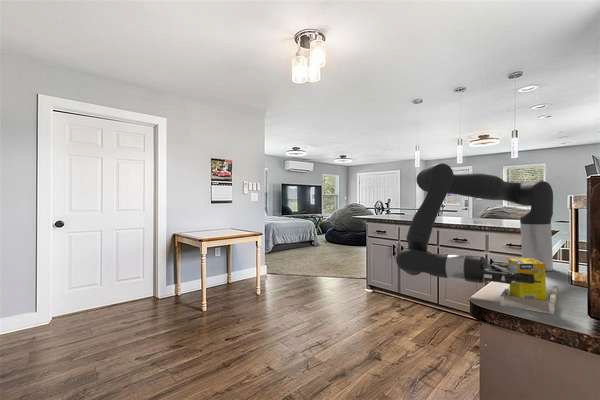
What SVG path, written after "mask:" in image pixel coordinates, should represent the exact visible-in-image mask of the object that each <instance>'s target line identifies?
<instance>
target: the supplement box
mask: <svg viewBox="0 0 600 400" xmlns="http://www.w3.org/2000/svg"><path fill="white" fill-rule="evenodd" d="M507 261H508V263H509V271H511V272H515V273H525V274H533V275H534V283H533V284H530V283H522V282H516V281H515V282H514V283H511V284H509V286H510V296H513V297H520V298H527V299H534V300H540V301H547V282H546V271H545V264H544V263H542V262H540V261H537V260H535V259H533V258H522V257H520V258H514V257H513V258H508V259H507ZM547 302H548V301H547Z"/></svg>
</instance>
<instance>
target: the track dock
mask: <svg viewBox="0 0 600 400" xmlns="http://www.w3.org/2000/svg"><path fill="white" fill-rule="evenodd" d="M558 287H559V286H557V285H554V286H553V288H552V294H550V296H549V297H550V298H549V300H548V301H540V300H534V299H527V298H520V297H513V296H510V285H509V286H508V288H504V289H503V291H502V292H501V294H500V296H499V300H500V302H499V303H500V306H501V307H510V308H515V309H521V310H527V311H532V312H533V311H534V312H537V313H544V314H545V313H546V314H550V315H554V314H555V309H556V303H557V297H558Z"/></svg>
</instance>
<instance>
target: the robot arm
mask: <svg viewBox="0 0 600 400" xmlns="http://www.w3.org/2000/svg"><path fill="white" fill-rule="evenodd" d="M415 181H416V184H417V186H418V188H420V190H422V191H424V192H425V193H427V194H426V196H425V198H424V199H423V201H422V203H421V205H420V206H419V208H418V209H417V211H416V212H415V213H414V215H413V218H412V219H411V223H409V228H408V231H407V234H406V243H407V244H408V247H407V249H403V250H401V251H399V252H398V253H397V254H396V256H395V263H396V265H397V267H398V268H399V269H401V270H402V271H403V272H405V273H406V274H408V275H411V276H418V275H420V274H421V273H424V274H428V275H430V276H433V277H435V278H443V279H445V278H447V279H450V280H455V281H462V282H466V283H468V282H469V283H475V284H485V282H492V283H500V284H501V283H502V284H507V285H510V284H511V283H514V282H515V281H516V282H522V283H530V284H533V283H534V275H533V274H525V273H515V272H511V271H509V263H507V262H500V261H499V262H497V261H494V262H492V264H488V263H487V260H486V258H485V257H484V256H480V255H479V256H478V255H469V254H468V255H467V254H464V255H463V254H443V253H431V252H428V246H429V245H428V244H429V241H430V238H431V234H432V231H433V228H434V224H435V222H436V219H437V217H438V214H439V211H440V210H441V207H442V205H443V203H444V201H445V199H446V197H447V195H448V194H453V195H457V196H461V197H462V196H463V197H468V198H474V199H479V200H487V201H488V200H489V201H505V202H509V203H514V204H517V205H521V206H526V207H527V206H530V210H529V211H528V212H527V213H526V214H523V215H521V216H520V218H519V223H520V243H521V244H520V245H521V258H533V259H535V260H537V261H540V262H542V263H544V264H545V272H553V271H554V260H553V259H554V258H553V257H554V255H553V253H554V252H553V235H552V217H553V216H554V215H553V214H554V192H553V188H552V185H551V184H550V183H549V182H547V181H544V180H539V181H538V180H537V181H525V182H511V181H510V182H509V181H505V180H504V179H503V178H501V177H499V176H496V175H492V174H486V173H479V172H476V173H475V172H473V173H472V172H471V173H469V172H468V173H459V174H456V173H455V174H454V171H453V169H452V167H451V166H450V165H449V164H446V163H443V162H442V163H441V162H439V163H436V164H433V165H431V166H428V167H425V168H423V169H422V170H421V171H420V172H418V174H417V176H416V180H415Z"/></svg>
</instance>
